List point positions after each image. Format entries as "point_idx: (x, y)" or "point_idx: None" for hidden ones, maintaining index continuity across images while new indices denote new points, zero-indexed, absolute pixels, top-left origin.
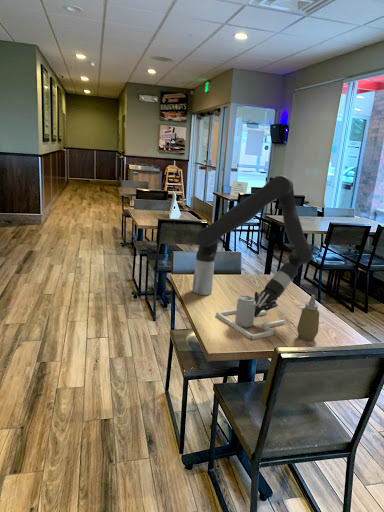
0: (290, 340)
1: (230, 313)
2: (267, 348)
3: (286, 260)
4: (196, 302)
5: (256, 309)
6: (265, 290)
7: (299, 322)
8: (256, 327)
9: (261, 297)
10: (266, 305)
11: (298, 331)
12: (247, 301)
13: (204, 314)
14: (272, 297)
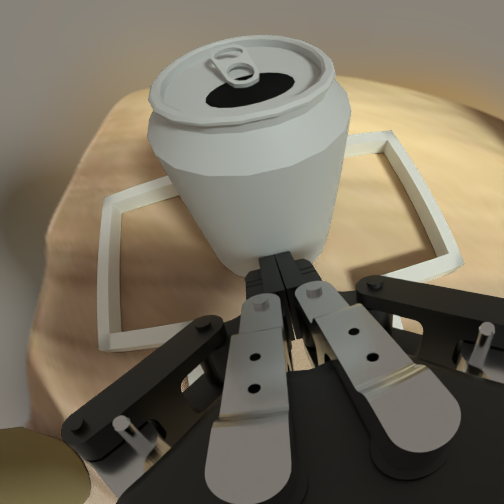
0: (56, 383)
1: (419, 209)
2: (51, 241)
3: None
4: (494, 138)
5: (265, 276)
6: (501, 479)
7: (8, 443)
8: (215, 293)
9: (361, 349)
10: (169, 352)
11: (42, 437)
12: (172, 71)
13: (394, 113)
14: (148, 497)
